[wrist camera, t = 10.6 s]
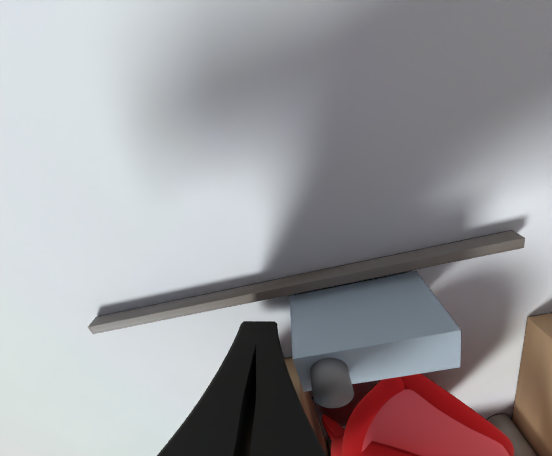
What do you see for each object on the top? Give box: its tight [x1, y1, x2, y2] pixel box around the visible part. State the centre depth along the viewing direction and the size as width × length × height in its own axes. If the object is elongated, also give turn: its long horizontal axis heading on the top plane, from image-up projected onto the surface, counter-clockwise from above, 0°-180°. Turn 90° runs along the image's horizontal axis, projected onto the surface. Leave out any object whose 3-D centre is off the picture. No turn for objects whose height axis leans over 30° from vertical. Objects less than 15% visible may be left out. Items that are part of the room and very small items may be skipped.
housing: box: [88, 231, 552, 456], centre depth 12 cm, size 14×20×4 cm
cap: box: [322, 374, 514, 456], centre depth 12 cm, size 8×6×6 cm
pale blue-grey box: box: [290, 271, 461, 408], centre depth 10 cm, size 2×5×4 cm, turn 105°
